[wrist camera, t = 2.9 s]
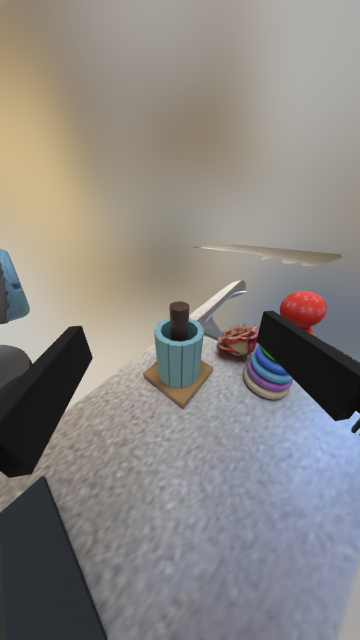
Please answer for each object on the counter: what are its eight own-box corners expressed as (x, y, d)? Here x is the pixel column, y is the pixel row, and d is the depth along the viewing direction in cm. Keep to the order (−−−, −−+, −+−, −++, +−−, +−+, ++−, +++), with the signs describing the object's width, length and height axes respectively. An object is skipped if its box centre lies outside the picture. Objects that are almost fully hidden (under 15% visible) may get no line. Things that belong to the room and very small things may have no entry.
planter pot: (150, 372, 31) (144, 331, 26) (176, 350, 36) (176, 312, 31) (182, 396, 27) (183, 353, 21) (206, 367, 32) (212, 327, 27)
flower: (271, 351, 35) (260, 317, 35) (259, 369, 29) (246, 328, 29) (231, 354, 42) (222, 326, 42) (214, 369, 35) (203, 336, 35)
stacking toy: (240, 391, 29) (273, 297, 19) (244, 361, 35) (271, 278, 25) (289, 409, 26) (358, 311, 16) (284, 373, 32) (333, 286, 22)
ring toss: (143, 377, 31) (131, 307, 23) (175, 350, 38) (175, 288, 30) (183, 408, 26) (186, 334, 18) (212, 371, 33) (224, 303, 24)
